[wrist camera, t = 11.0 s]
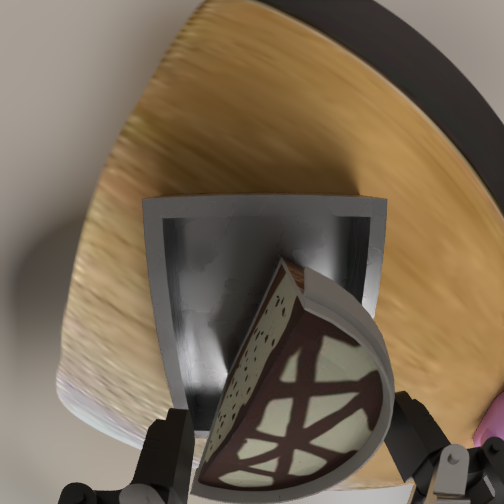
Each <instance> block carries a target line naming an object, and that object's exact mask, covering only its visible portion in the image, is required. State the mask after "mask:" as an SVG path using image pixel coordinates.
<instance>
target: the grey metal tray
mask: <svg viewBox="0 0 504 504" xmlns="http://www.w3.org/2000/svg"><path fill="white" fill-rule="evenodd" d="M142 204H143V222H144V235H145V247H146V257H147V267H148V275H149V283H150V291H151V298H152V305H153V311H154V317H155V323H156V329H157V334H158V340H159V345H160V350H161V355H162V360H163V364H164V369H165V373H166V378H167V382H168V386H169V390H170V394H171V398H172V402H173V406H174V408H176V409H188V410H189V411H190V415H191V419H192V424H193V428H194V433H195V438H208V436H209V433H210V429H211V426H212V423H213V420H214V417H215V413H216V410H217V407H218V404H219V401H220V397H221V394H222V391H223V388H224V384H225V381H226V378H227V375H228V372H229V370H230V368H231V366H232V364H233V362H234V360H235V358H236V356H237V354H238V351H239V349H240V347H241V345H242V343H243V341H244V339H245V337H246V334H247V332H248V330H249V328H250V326H251V324H252V321H253V319H254V317H255V315H256V313H257V311H258V308H259V306H260V304H261V302H262V300H263V297H264V295H265V293H266V291H267V289H268V286H269V284H270V282H271V280H272V277H273V275H274V273H275V271H276V268H277V266H278V264H279V261H280V259H281V257H283V258H285V259H287V260H289V261H291V262H293V263H295V264H296V265H298V266H299V267H301V268H302V269H303V270H305V268H306V266H307V267H309V268H311V269H313V270H314V271H316V272H318V273H320V274H322V275H324V276H326V277H328V278H330V279H331V280H333V281H334V282H335V283H337V284H338V285H339V286H341V287H342V288H343V289H345V290H346V291H347V292H349V293H350V294H351V295H353V296H354V297H355V298H356V300H357V301H358V302H359V303H360V304H361V305H362V306H363V307H364V308H365V309H366V311H367V312H368V313H369V314H370V315H371V317H372V319H373V320H374V315H375V309H376V304H377V298H378V291H379V285H380V278H381V270H382V262H383V253H384V243H385V231H386V216H387V199H385V198H378V197H371V196H363V195H349V194H326V193H281V192H250V193H205V194H181V195H163V196H156V197H151V198H146V199H142Z"/></svg>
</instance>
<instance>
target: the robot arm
mask: <svg viewBox="0 0 504 504" xmlns="http://www.w3.org/2000/svg"><path fill="white" fill-rule="evenodd" d="M384 442H385V444H386V446H387V448H388V450H389V452H390V454H391V456H392V458H393V460H394V462H395V464H396V466H397V469H398V471H399V473H400V475H401V477H402V479H403V481H404V483H406V482H409V481H411V480H413V479H414V481H415V484H414V485H413V488H412V491H411V494H410V497H409V500H408V503H407V504H504V440H503V439H501V438H499V437H495V436H494V437H490V438H488V439H487V440H486V441H485V442H484V443H483V445H482V446H479V447H475V448H470V449H466V448H465V447H463V446H461V445H458V444H451V443H450V442H449V440H448V439H447V437H446V436H445V435H444V433H443V432H442V430H441V429H440V427H439V426H438V424H437V423H436V421H434V419H433V417H432V416H431V414H429V412H428V410H427V409H426V407H425V406H424V405H423V404H422V403H420V402H419V401H417V400H416V399H413V400H412V399H411V397H410V396H409V394H408V393H407V392H406V391H400V392H396V393H395V399H394V405H393V414H392V419H391V423H390V428H389V430H388V432H387V434H386V437H385V439H384ZM194 446H195V433H194V428H193V424H192V419H191V415H190V411H189V410H188V409H176V408H170V409H169V411H168V414H167V418H166V420H160V419H156V420H155V421H154V423H153V424H152V425H151V426H150V427H149V428H148V431H147V434H146V438H145V441H144V444H143V449H142V451H141V454H140V457H139V461H138V464H137V467H136V471H135V474H134V477H133V480H132V482H131V483H130V484H129V485H128V486H126V487H125V488H123V489H121V490H116V491H97V490H92V489H91V488H90V487H89V486H87V485H86V484H83V483H78V482H76V483H70V484H68V485H67V486H65V487H64V489H63V490H62V492H61V495H60V498H59V501H58V504H187V499H188V491H189V483H190V476H191V468H192V461H193V453H194ZM486 475H487V477H488V479H489V480H490V482H491V484H492V486H493V488H494V489H495V497H493V496H492V494H491V492H490V490H489V488H488V487H487V485H486V483H485V481H484V479H483V478H484V477H485V476H486Z"/></svg>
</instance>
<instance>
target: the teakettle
mask: <svg viewBox="0 0 504 504" xmlns="http://www.w3.org/2000/svg"><path fill="white" fill-rule="evenodd" d="M494 436H495V437H499V438H501V439H503V440H504V391H503V392H502V393H501V394H500V395H499V396H497V397H496V398H495V399H494V401H493V402H492V404H491V405H490V407H489V409H488V410H487V412H486V414H485V416H484V417H483V419H482V421H481V423H480V424H479V426H478V428H477V430H476V432H475V434H474V436H473V442H474V445H475V447H479V446H482V445H483V443H484V442H485V441H486V440H487V439H488V438H490V437H494Z"/></svg>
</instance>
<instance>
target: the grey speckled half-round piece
mask: <svg viewBox="0 0 504 504" xmlns="http://www.w3.org/2000/svg"><path fill="white" fill-rule="evenodd" d="M394 399H395V388H394V376H393V372H392V368H391V363H390V359H389V355H388V352H387V348H386V345H385V342H384V339H383V336H382V334H381V332H380V330H379V329H378V327H377V325H376V324H375V322H374V320H373V319H372V317H371V315H370V314H369V313H368V312H367V311H366V309H365V308H364V307H363V306H362V305H361V304H360V303H359V302H358V301H357V300H356V298H355V297H354V296H353V295H351V294H350V293H349V292H347V291H346V290H345V289H343V288H342V287H341V286H339V285H338V284H337V283H335V282H334V281H333V280H331V279H330V278H328V277H326V276H324V275H322V274H320V273H318V272H316V271H314V270H313V269H311V268H309V267H307V266H306V268H305V270H303V269H302V268H301V267H299V266H298V265H296V264H295V263H293V262H291V261H289V260H287V259H285V258H283V257H281V259H280V261H279V264H278V266H277V268H276V271H275V273H274V275H273V277H272V280H271V282H270V284H269V286H268V289H267V291H266V293H265V295H264V297H263V300H262V302H261V304H260V306H259V308H258V311H257V313H256V315H255V317H254V319H253V321H252V324H251V326H250V328H249V330H248V332H247V334H246V337H245V339H244V341H243V343H242V345H241V347H240V349H239V351H238V354H237V356H236V358H235V360H234V362H233V364H232V366H231V368H230V370H229V372H228V375H227V378H226V381H225V384H224V388H223V391H222V394H221V397H220V401H219V404H218V407H217V410H216V413H215V417H214V420H213V423H212V426H211V429H210V433H209V436H208V439H207V442H206V445H205V448H204V452H203V455H202V458H201V461H200V464H199V467H198V468H197V469H196V472H195V476H194V480H193V483H192V489H191V492H190V494H191V495H194V496H198V497H201V498H204V499H209V500H214V501H218V502H224V503H233V504H274V503H282V502H288V501H293V500H298V499H301V498H305V497H308V496H311V495H315V494H317V493H320V492H322V491H325V490H327V489H329V488H332V487H333V486H335V485H337V484H339V483H341V482H342V481H344V480H346V479H347V478H349V477H350V476H352V475H353V474H354V473H356V472H357V471H358V470H359V469H361V468H362V467H363V466H364V465H365V464H366V463H367V462H368V461H369V460H370V459H371V458H372V457H373V456H374V454H375V453H376V451H377V450H378V449H379V447H380V446H381V444H382V443H383V441H384V439H385V437H386V434H387V432H388V430H389V428H390V423H391V419H392V414H393V405H394Z"/></svg>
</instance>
